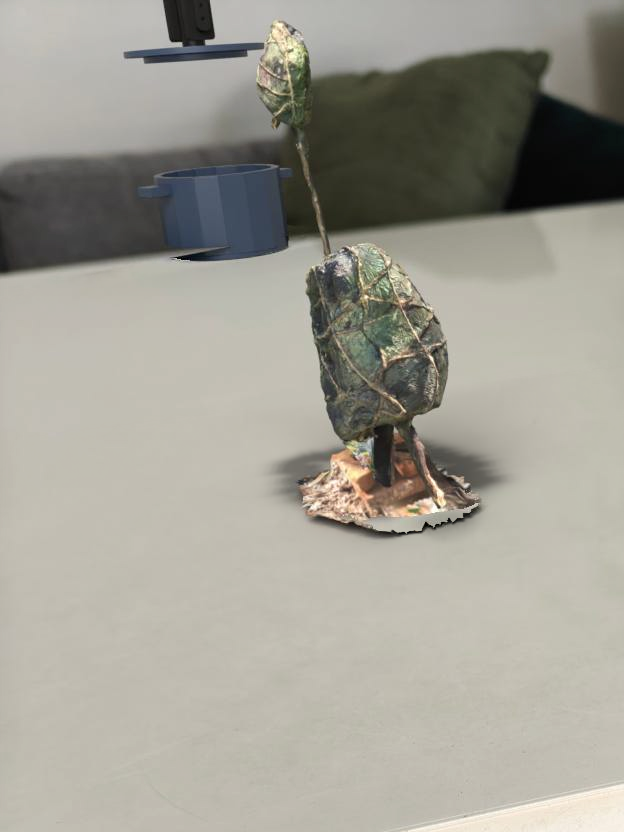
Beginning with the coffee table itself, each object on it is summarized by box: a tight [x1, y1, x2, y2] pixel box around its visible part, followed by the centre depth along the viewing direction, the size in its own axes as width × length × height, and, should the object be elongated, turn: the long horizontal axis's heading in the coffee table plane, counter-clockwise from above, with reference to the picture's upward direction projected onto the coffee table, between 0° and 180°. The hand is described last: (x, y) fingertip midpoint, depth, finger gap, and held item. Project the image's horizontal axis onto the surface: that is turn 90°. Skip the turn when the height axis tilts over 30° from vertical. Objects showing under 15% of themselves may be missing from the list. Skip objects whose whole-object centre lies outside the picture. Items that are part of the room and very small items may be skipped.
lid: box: [123, 0, 265, 65], centre depth 117 cm, size 15×15×6 cm
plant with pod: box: [255, 19, 482, 533], centre depth 47 cm, size 8×11×20 cm
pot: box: [137, 163, 293, 262], centre depth 127 cm, size 14×19×8 cm
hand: (192, 39), depth 118 cm, fingers closed on lid, 2 cm apart
